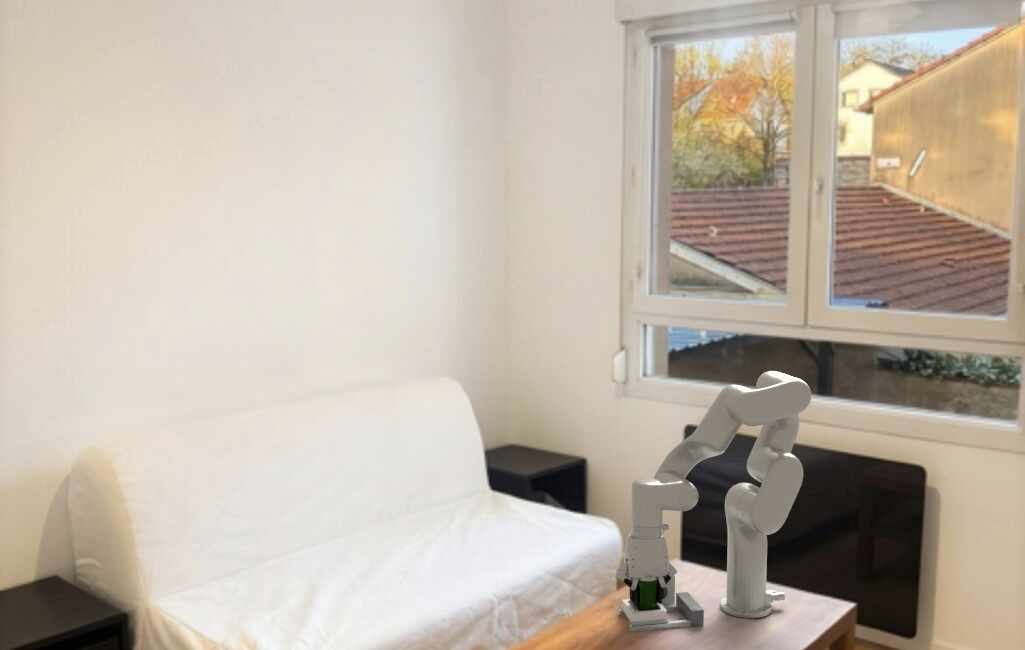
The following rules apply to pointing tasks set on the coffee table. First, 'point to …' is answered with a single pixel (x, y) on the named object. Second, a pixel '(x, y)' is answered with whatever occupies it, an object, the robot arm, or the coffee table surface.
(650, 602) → the beer can
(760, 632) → the coffee table surface
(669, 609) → the rail track
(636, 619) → the frame
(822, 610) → the coffee table surface
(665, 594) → the pale green hollow cube
